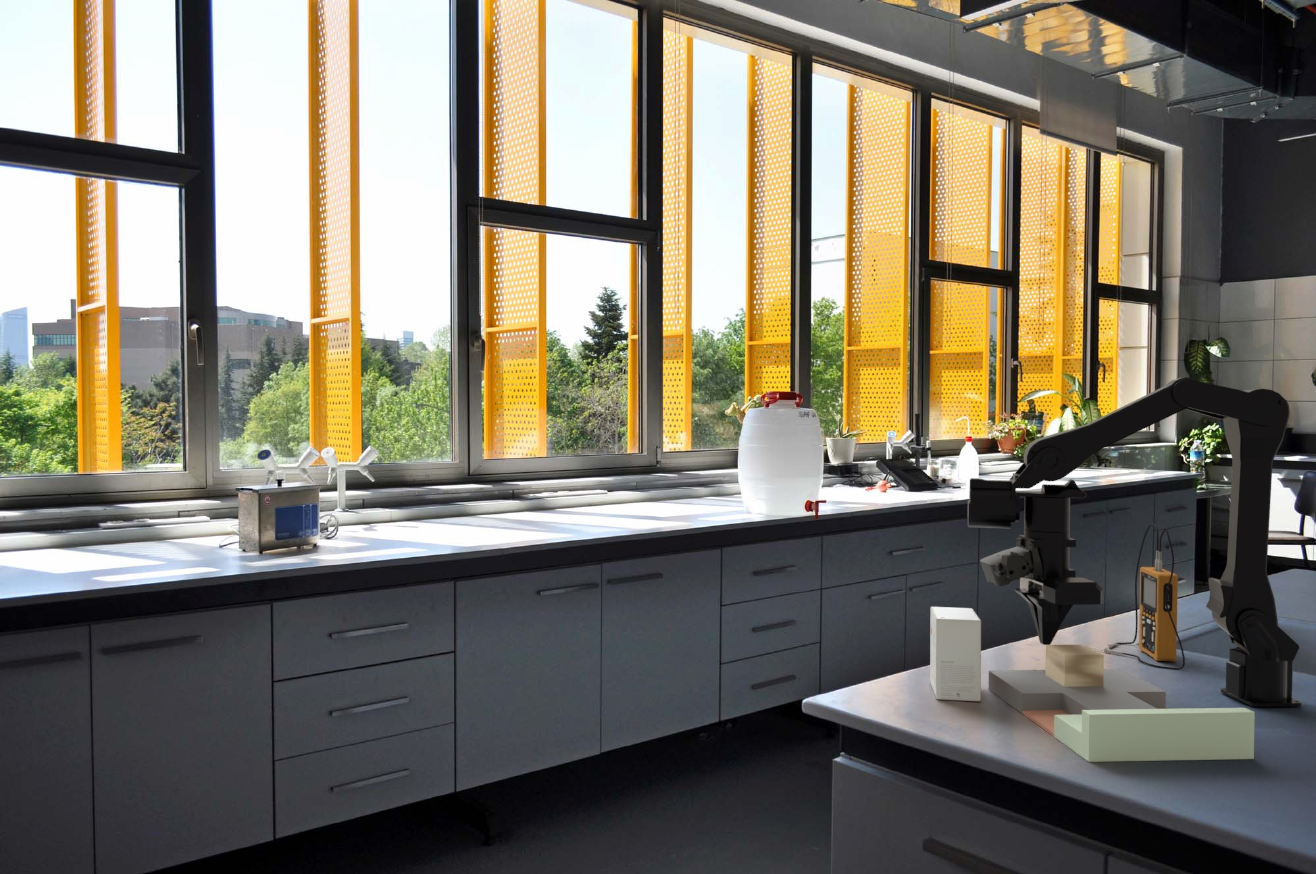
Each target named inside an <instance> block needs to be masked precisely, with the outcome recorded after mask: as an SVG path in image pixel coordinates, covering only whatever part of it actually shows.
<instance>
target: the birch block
mask: <svg viewBox="0 0 1316 874" xmlns="http://www.w3.org/2000/svg"><path fill="white" fill-rule="evenodd" d="M1104 664H1105V654H1104V653H1102V652H1100V651H1098V650H1097V649H1094V648H1093V647H1090V646H1087V645H1085V644H1082V643H1081V644H1079V643H1077V644H1050V645H1045V670H1046V674H1045V675H1046V676H1047V677H1049V678H1051V679H1052V680H1054V681H1056V682H1057V683H1059V684H1061V685H1062V686H1064V687H1079V686H1103V680H1104V669H1105V668H1104V666H1105V665H1104Z"/></svg>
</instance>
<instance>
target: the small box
mask: <svg viewBox="0 0 1316 874" xmlns="http://www.w3.org/2000/svg"><path fill="white" fill-rule="evenodd" d="M929 609H930V611H929V612H930V614H929V615H930V617H929V618H930V620H929V621H930V625H929V626H930V627H929V628H930V629H929V630H930V632H929V633H930V635H929V637H930V638H929V639H930V643H929V644H930V646H929V649H930V652H929V654H930V655H929V656H930V657H929V659H930V661H929V662H930V663H929V664H930V667H929V672H930V673H929V674H930V675H929V677H930V678H929V679H930V682H929V683H930V685H931V687H932V691H933V693H934V695H935V699H936V700H942V701H943V700H947V701H962V702H963V701H965V702H981V698H982V696H981V695H982V694H981V693H982V692H981V691H982V620H981V619H980V617H979V615H977V613H976V612H975V610H974V609H973V608H972V607H971V608H970V607H950V606H949V607H946V606H930V608H929Z"/></svg>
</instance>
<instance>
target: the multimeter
mask: <svg viewBox="0 0 1316 874" xmlns="http://www.w3.org/2000/svg"><path fill="white" fill-rule="evenodd" d="M1152 526H1154V527H1155V529H1156V551H1155V553H1156V554H1155V560H1154V566H1142V567H1140V569H1139V565H1140V560H1141V555H1142V552H1143V551H1142V550H1143V547H1144V544H1145V540H1146V538H1147V535H1148V531H1149V530H1150V528H1151V527H1152ZM1165 533H1166V536H1167V539H1168V543H1169V547H1170V552H1171V561H1172V563H1171V571H1170V570H1168V569H1167V570H1166V569H1163V559H1162V557H1163V556H1162V553H1163V552H1162V538H1163V536H1164V534H1165ZM1159 535H1160V536H1159ZM1138 552H1139V553H1138V558H1137V563H1136V569H1135V575H1134V576H1135V578H1134V600H1135V601H1134V604H1135V605H1134V606H1135V632H1134V638H1133V640H1132V641H1130V642H1129V641H1127V642H1126V641H1125V642H1112V643H1111V644H1107V647H1105V648H1097V647H1093V649H1094V650H1097V651H1098V650H1100V651H1104V653H1110V654H1116V655H1122V656H1123V655H1124V656H1129V657H1134V658H1137V660H1138V661H1139V662H1141V663H1142V664H1144V665H1148V666H1150V667H1154V668H1161V669H1166V670H1178V671H1179V670H1183V669H1184V667H1185V664H1186V660H1185V653H1184V647H1183V645H1182V642H1181V639H1180V637H1179V633H1178V597H1179V596H1178V589H1179V588H1178V586H1179V585H1178V583H1179V577H1178V575H1177V574H1176V573H1174V569H1175V568H1174V567H1175V554H1174V549H1173V544H1172V541H1171V537H1170V534H1169V526H1166V527H1165V528H1164V529H1163V530H1162V532H1161V534H1159V528H1158V525H1157V524H1155V523H1151V524H1149V525H1148V527H1147V528H1146V529H1145V532H1144V535H1143V537H1142V541H1141V545H1140V548H1139V551H1138ZM1138 572H1139V573H1138ZM1138 574H1139V611H1138V585H1137V584H1138ZM1138 613H1139V617H1138ZM1138 618H1139V619H1138ZM1138 620H1139V622H1138ZM1138 625H1139V626H1138ZM1138 627H1139V628H1138ZM1138 629H1139V631H1138ZM1138 634H1139V635H1138ZM1137 635H1138V636H1139V637H1138V648H1139V650H1140V651H1141V652H1142V653H1145V654H1147V656H1148V655H1149V656H1150V657H1151V658H1153V660H1155V662H1176V661H1177V644H1179V647H1180V651H1181V655H1182V665H1181V667H1170V666H1169V667H1168V666H1162V665H1156V664H1151V663H1149V662H1146V661H1144V660H1142V659H1141V658H1140V656H1139V655H1135V654H1131V653H1126V652H1124V651H1121V650H1120V651H1119V650H1115V649H1112V648H1114V647H1115V646H1117V645H1132V644H1134V643H1135V642H1136V640H1137ZM1177 641H1178V643H1177Z"/></svg>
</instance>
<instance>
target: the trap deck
mask: <svg viewBox="0 0 1316 874" xmlns="http://www.w3.org/2000/svg"><path fill="white" fill-rule="evenodd" d="M1045 674H1046V669H1018V670H1017V669H1016V670H1014V669H1011V670H1009V669H1008V670H1007V669H1006V670H1005V669H1004V670H1002V669H1001V670H999V669H998V670H988V690H989V691H990V692H992V693H993V694H994V695H996V696H997V697H999V698H1000V699H1001V700H1003V701H1004V702H1005V703H1007V704H1008V705H1009V706H1011V707H1012V708H1013V709H1015V710H1016V711H1017V712H1019V713H1020V714H1022V715H1023V716H1025V717H1026V718H1027V719H1029V720H1030V721H1032V723H1034V724H1036V725H1037V726H1039V728H1041V729H1043V730H1044V731H1045V732H1047V733H1049V734H1050V736H1052V737H1054V738H1055V739H1056V740H1058V741H1059V742H1060V743H1062V744H1063V745H1064V746H1066V747H1068V748H1069V749H1070V750H1072V751H1073V752H1074V753H1076V754H1077V755H1079V756H1080V757H1081V758H1082V759H1084V760H1086V761H1087V762H1088V763H1095V762H1096V763H1097V762H1098V763H1099V762H1101V763H1102V762H1151V761H1153V762H1155V761H1158V762H1159V761H1205V760H1207V761H1210V760H1217V761H1218V760H1219V761H1220V760H1254V759H1255V754H1254V753H1255V718H1256V717H1255V711H1254V710H1251V709H1249V708H1246V707H1210V708H1209V707H1205V708H1203V707H1200V708H1197V707H1196V708H1195V707H1194V708H1193V707H1192V708H1191V707H1190V708H1166V706H1167V704H1166V702H1167V701H1166V700H1167V699H1166V696H1167V692H1166V691H1165V690H1163V689H1162V688H1159V687H1157V686H1156V685H1154V684H1151V683H1150V682H1148V681H1146V680H1143V679H1141V678H1139V677H1137V676H1135V675H1133V674H1131V673H1130V672H1128V671H1126V670H1123V669H1122V668H1104V680H1103V686H1079V687H1064V686H1062V685H1061V684H1059V683H1057V682H1056V681H1054V680H1052V679H1051V678H1049V677H1047V676H1046V675H1045Z"/></svg>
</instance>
